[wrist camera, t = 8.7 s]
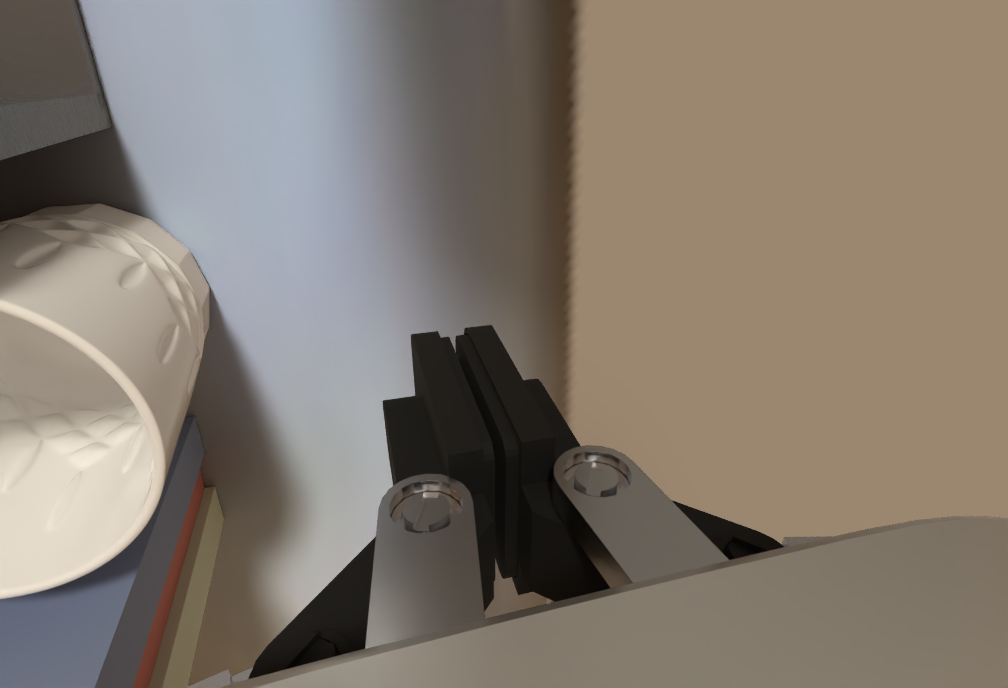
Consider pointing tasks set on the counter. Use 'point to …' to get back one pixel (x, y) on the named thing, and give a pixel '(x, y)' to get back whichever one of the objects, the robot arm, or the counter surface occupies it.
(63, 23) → the bookend
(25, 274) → the white cup
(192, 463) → the book row
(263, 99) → the counter surface
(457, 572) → the robot arm
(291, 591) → the counter surface
